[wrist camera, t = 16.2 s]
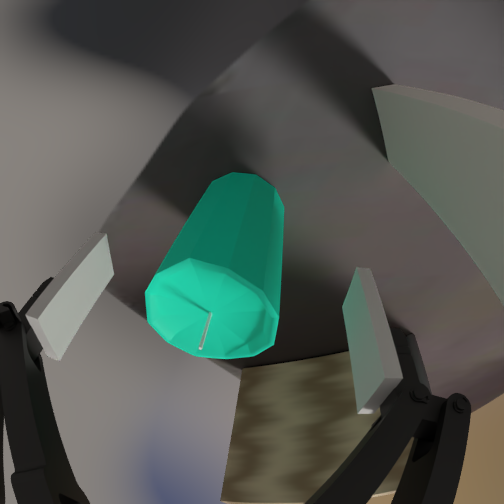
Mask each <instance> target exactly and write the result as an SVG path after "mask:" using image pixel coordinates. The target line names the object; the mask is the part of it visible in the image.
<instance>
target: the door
mask: <svg viewBox="0 0 504 504" xmlns="http://www.w3.org/2000/svg"><path fill="white" fill-rule="evenodd" d="M380 415H381V412H380V407H379V408H378V410H377V411H376V412H375V413H374V414H357V405H356V396H355V388H354V380H353V373H352V366H351V359H350V352H349V351H347V352H342V353H337V354H332V355H327V356H322V357H317V358H311V359H305V360H299V361H293V362H287V363H280V364H274V365H266V366H259V367H251V368H243V369H242V375H241V381H240V388H239V394H238V400H237V406H236V412H235V418H234V424H233V430H232V436H231V442H230V447H229V453H228V459H227V465H226V471H225V477H224V482H223V488H222V494H221V500H220V501H222V502H224V503H229V504H304V503H305V502H306V501H307V500H308V499H309V498H310V497H311V496H312V495H313V494H314V493H315V492H316V491H317V490H318V489H319V488H320V487H321V486H322V485H323V484H324V483H325V482H326V481H327V480H328V479H329V478H330V477H331V475H332V474H333V473H334V472H335V471H336V470H337V469H338V468H339V466H340V465H341V464H342V463H343V462H344V461H345V460H346V458H347V457H348V456H349V455H350V454H351V452H352V451H353V450H354V449H355V448H356V446H357V445H358V444H359V443H360V441H361V440H362V439H363V437H364V436H365V435H366V434H367V432H368V431H369V430H370V428H371V427H372V426H371V425H372V424H373V423H374V422H375V421H376V420H377V419H378V418H379V416H380ZM413 440H414V437H412V438H411V440H410V441H409V443H408V445H407V446H406V448H405V449H404V451H403V453H402V454H401V456H400V457H399V459H398V460H397V462H396V463H395V465H394V466H393V468H392V469H391V471H390V472H389V474H388V475H387V476H386V478H385V479H384V481H383V482H382V483H381V485H380V486H379V488H378V489H377V490H376V492H375V493H374V494H373V495H372V497H376V496H382V495H387V494H392V493H395V492H396V490H397V487H398V485H399V482H400V479H401V477H402V474H403V471H404V468H405V465H406V462H407V459H408V456H409V453H410V450H411V447H412V443H413Z"/></svg>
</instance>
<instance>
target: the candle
mask: <svg viewBox="0 0 504 504" xmlns="http://www.w3.org/2000/svg"><path fill="white" fill-rule="evenodd" d="M283 227H284V206H283V203H282V201H281V199H280V197H279V195H278V193H277V191H276V188H275V187H273V186H272V185H271V184H269V183H268V182H266V181H265V180H263V179H262V178H260V177H259V176H258V175H256V174H247V173H237V172H232V173H229V174H227V175H225V176H223V177H220V178H218V179H216V180H214V181H212V182H211V184H210V185H209V187H208V188H207V190H206V191H205V193H204V194H203V196H202V198H201V199H200V201H199V202H198V204H197V205H196V207H195V209H194V210H193V212H192V213H191V215H190V217H189V218H188V220H187V221H186V223H185V225H184V226H183V228H182V230H181V231H180V233H179V235H178V236H177V238H176V240H175V241H174V243H173V245H172V246H171V248H170V250H169V251H168V253H167V255H166V256H165V258H164V260H163V262H162V263H161V265H160V267H159V268H158V270H157V272H156V274H155V275H154V277H153V279H152V281H151V283H150V284H149V286H148V288H147V290H146V291H145V300H146V312H147V322H148V323H149V324H150V325H151V326H152V327H153V328H154V329H155V330H156V332H157V333H158V334H159V335H161V337H162V338H163V339H164V340H166V342H168V343H169V344H171V345H174V346H175V347H177V348H179V349H181V350H183V351H185V352H187V353H189V354H191V355H194V356H197V357H207V358H218V359H233V358H243V357H252V356H255V355H257V354H259V353H261V352H262V351H264V350H266V349H268V348H269V347H271V346H273V345H274V342H275V337H276V332H277V326H278V321H279V311H280V293H281V274H282V252H283Z"/></svg>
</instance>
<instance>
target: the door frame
mask: <svg viewBox="0 0 504 504" xmlns="http://www.w3.org/2000/svg"><path fill="white" fill-rule="evenodd" d="M371 89H372V92H373V96H374V100H375V104H376V108H377V112H378V116H379V120H380V124H381V129H382V133H383V138H384V142H385V147H386V152H387V158H388V162H389V163H390V164H391V165H392V166H393V167H394V168H395V169H396V170H397V171H398V172H399V173H400V174H401V175H402V176H403V177H404V178H405V179H406V180H407V181H408V182H409V183H410V184H411V186H412V187H413V188H414V189H415V190H416V191H417V192H418V193H419V194H420V195H421V196H422V198H423V199H424V200H425V201H426V202H427V203H428V204H429V206H430V207H431V208H432V209H433V210H434V211H435V212H436V214H437V215H438V216H439V217H440V218H441V220H442V221H443V222H444V223H445V224H446V226H447V227H448V228H449V229H450V231H451V232H452V233H453V234H454V236H455V237H456V238H457V239H458V241H459V242H460V243H461V245H462V246H463V247H464V249H465V250H466V251H467V253H468V254H469V255H470V257H471V258H472V259H473V261H474V262H475V264H476V265H477V266H478V268H479V269H480V271H481V272H482V274H483V275H484V277H485V278H486V279H487V281H488V282H489V284H490V285H491V287H492V289H493V290H494V292H495V293H496V295H497V296H498V298H499V299H500V301H501V303H502V304H503V306H504V110H501V109H498V108H495V107H492V106H489V105H485V104H482V103H478V102H475V101H471V100H468V99H464V98H460V97H456V96H452V95H448V94H443V93H439V92H434V91H430V90H425V89H419V88H414V87H408V86H402V85H396V84H393V85H387V86H381V87H375V88H371ZM406 338H407V341H408V344H409V348H410V350H411V355H412V357H413V360H414V364H415V367H416V371H417V374H418V378H419V381H420V383H422V384H424V385H425V386H426V387H427V388H428V389H429V391H430V393H431V394H432V392H431V389H430V385H429V381H428V378H427V374H426V371H425V367H424V364H423V361H422V357H421V354H420V351H419V348H418V344H417V341H416V338H415V335H414V334H410V335H408V336H407V337H406Z"/></svg>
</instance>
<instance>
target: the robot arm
mask: <svg viewBox="0 0 504 504" xmlns="http://www.w3.org/2000/svg"><path fill="white" fill-rule="evenodd" d="M113 275H114V271H113V267H112V261H111V256H110V251H109V245H108V240H107V234H105V233H98V232H95V233H94V234H93V235H92V236H91V237H90V238H89V239H88V240H87V241H86V242H85V243H84V245H83V246H82V247H81V248H80V249H79V250H78V251H77V253H75V255H74V256H73V257H72V258H71V259H70V260H69V261H68V262H67V264H66V265H65V266H64V267H63V268H62V270H61V271H60V272H59V273H58V274H57V275H56V276H55V278H52V277H50V278H49V279H47V280H46V281H45V282H43V283H42V284H41V285H40V287H39V288H38V289H37V291H36V292H35V293H34V294H33V297H31V298H30V299H29V300H28V302H27V303H26V304H25V305H24V307H23V308H22V309H21V311H20V312H19V313H17V310H16V308H15V306H14V304H13V303H12V302H8V301H6V302H2V303H0V504H5V485H4V470H3V425H4V418H5V424H6V430H7V435H8V441H9V446H10V450H11V455H12V459H13V463H14V467H15V472H14V473H13V474H12V475H11V483H12V487H13V490H14V493H15V497H16V500H17V503H18V504H90V503H89V500H88V499H87V497H86V495H85V494H84V492H83V491H82V490H81V488H80V487H79V485H78V484H77V482H76V479H75V477H74V474H73V472H72V469H71V466H70V464H69V461H68V458H67V455H66V452H65V449H64V446H63V444H62V440H61V437H60V434H59V431H58V427H57V424H56V420H55V416H54V413H53V409H52V405H51V400H50V396H49V392H48V387H47V382H46V377H45V372H44V367H43V362H42V357H41V355H40V352H41V351H42V349H43V350H44V351H45V353H46V355H47V357H50V358H53V359H55V360H58V361H60V360H61V358H62V356H63V354H64V353H65V351H66V349H67V347H68V346H69V344H70V342H71V341H72V339H73V337H74V336H75V334H76V332H77V331H78V329H79V327H80V326H81V324H82V323H83V321H84V319H85V318H86V316H87V314H88V313H89V311H90V310H91V308H92V307H93V305H94V304H95V302H96V300H97V299H98V298H99V296H100V294H101V293H102V291H103V290H104V288H105V287H106V286H107V284H108V283H109V281H110V280H111V278H112V277H113ZM342 310H343V315H344V321H345V327H346V333H347V339H348V346H349V352H350V359H351V366H352V373H353V380H354V388H355V396H356V405H357V414H374V413H375V412H376V411H377V410H378V408H379V407H380V412H381V415H380V416H379V418H378V419H377V420H376V421H375V422H374V423H373V424H372V425H371V426H372V427H371V428H370V430H369V431H368V432H367V434H366V435H365V436H364V437H363V439H362V440H361V441H360V443H359V444H358V445H357V446H356V448H355V449H354V450H353V451H352V452H351V454H350V455H349V456H348V457H347V458H346V460H345V461H344V462H343V463H342V464H341V465H340V466H339V468H338V469H337V470H336V471H335V472H334V473H333V474H332V475H331V477H330V478H329V479H328V480H327V481H326V482H325V483H324V484H323V485H322V486H321V487H320V488H319V489H318V490H317V491H316V492H315V493H314V494H313V495H312V496H311V497H310V498H309V499H308V500H307V501H306V502H305V503H304V504H366V503H367V502H368V501H369V499H370V498H371V497H372V495H373V494H374V493H375V492H376V490H377V489H378V488H379V486H380V485H381V483H382V482H383V481H384V479H385V478H386V476H387V475H388V474H389V472H390V471H391V469H392V468H393V466H394V465H395V463H396V462H397V460H398V459H399V457H400V456H401V454H402V453H403V451H404V449H405V448H406V446H407V445H408V443H409V441H410V440H411V438H412V437H414V440H413V443H412V447H411V450H410V453H409V456H408V459H407V462H406V465H405V468H404V471H403V474H402V477H401V479H400V482H399V485H398V487H397V490H396V492H395V495H394V497H393V500H392V502H391V504H453V502H454V499H455V495H456V491H457V488H458V483H459V480H460V475H461V471H462V466H463V461H464V456H465V451H466V445H467V438H468V432H469V425H470V415H471V405H470V402H469V400H468V399H467V398H466V397H465V396H464V395H462V394H459V393H454V394H452V395H451V396H450V397H449V398H448V399H445V398H442V397H438V396H434V395H432V394H431V393H430V391H429V389H428V388H427V387H426V386H425V385H424V384H422V383H420V381H419V378H418V374H417V371H416V367H415V364H414V360H413V357H412V355H411V350H410V348H409V344H408V341H407V338H406V336H405V335H404V333H403V332H402V331H401V329H400V328H389V324H388V321H387V318H386V315H385V311H384V308H383V305H382V302H381V299H380V296H379V293H378V290H377V287H376V284H375V281H374V278H373V275H372V272H371V269H368V268H360V267H356V270H355V273H354V276H353V279H352V281H351V284H350V287H349V290H348V292H347V295H346V298H345V301H344V303H343V306H342Z"/></svg>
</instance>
